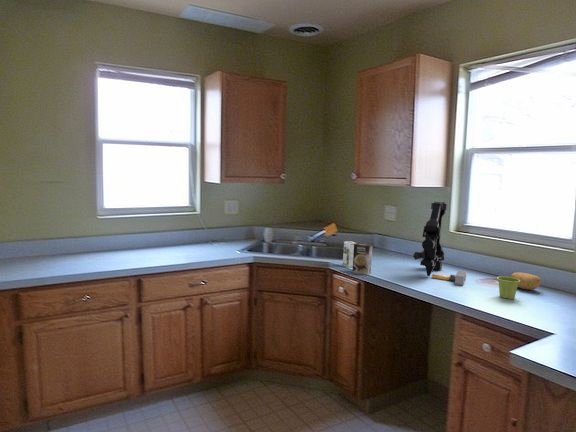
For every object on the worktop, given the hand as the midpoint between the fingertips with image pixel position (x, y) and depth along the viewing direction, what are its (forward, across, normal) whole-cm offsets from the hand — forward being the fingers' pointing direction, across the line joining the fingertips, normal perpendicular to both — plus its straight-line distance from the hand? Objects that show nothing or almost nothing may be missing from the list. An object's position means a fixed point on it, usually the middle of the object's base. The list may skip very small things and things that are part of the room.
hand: (428, 275), depth 223 cm
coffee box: (+1, +12, -34) cm, 35 cm away
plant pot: (+1, +16, +38) cm, 41 cm away
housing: (+1, 0, +16) cm, 16 cm away
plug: (+1, 0, +9) cm, 9 cm away
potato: (+1, -5, +45) cm, 45 cm away
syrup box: (+1, 0, -45) cm, 45 cm away
